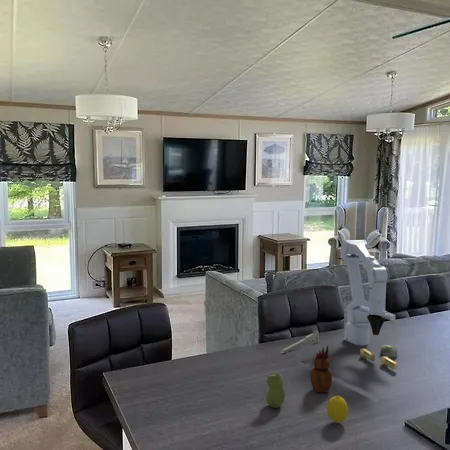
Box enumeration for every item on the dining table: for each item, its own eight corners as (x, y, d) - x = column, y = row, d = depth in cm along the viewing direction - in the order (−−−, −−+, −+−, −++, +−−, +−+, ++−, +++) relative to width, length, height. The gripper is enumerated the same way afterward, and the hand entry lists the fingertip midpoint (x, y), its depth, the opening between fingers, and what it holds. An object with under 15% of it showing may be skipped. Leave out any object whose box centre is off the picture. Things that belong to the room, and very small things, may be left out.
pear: (274, 413, 130) (275, 379, 129) (262, 405, 134) (262, 373, 133) (288, 407, 134) (288, 374, 133) (275, 400, 138) (275, 368, 137)
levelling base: (348, 361, 167) (348, 349, 167) (380, 349, 179) (381, 338, 179) (380, 374, 156) (381, 362, 156) (412, 361, 168) (413, 349, 167)
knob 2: (392, 372, 154) (392, 363, 154) (379, 364, 161) (379, 356, 161) (398, 371, 155) (398, 363, 155) (385, 363, 162) (385, 355, 162)
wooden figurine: (332, 388, 146) (333, 343, 144) (330, 396, 140) (332, 350, 139) (311, 385, 148) (312, 341, 147) (309, 392, 143) (310, 347, 141)
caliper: (317, 343, 187) (317, 328, 186) (319, 344, 186) (319, 329, 185) (279, 353, 175) (280, 338, 175) (281, 354, 174) (281, 338, 174)
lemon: (324, 418, 127) (325, 391, 127) (343, 417, 128) (344, 390, 127) (330, 429, 122) (331, 401, 121) (350, 428, 122) (351, 400, 122)
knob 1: (370, 364, 162) (370, 355, 161) (358, 356, 169) (359, 348, 168) (375, 363, 162) (376, 354, 162) (364, 355, 169) (364, 347, 169)
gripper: (354, 296, 170) (353, 330, 171) (387, 305, 158) (385, 342, 160) (366, 293, 174) (365, 327, 175) (399, 302, 162) (397, 338, 164)
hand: (375, 334), depth 168 cm, fingers closed
